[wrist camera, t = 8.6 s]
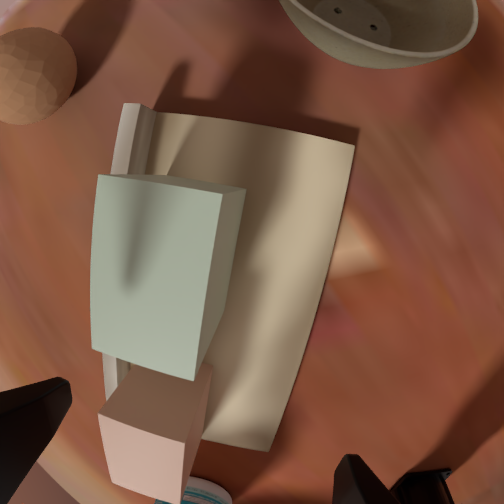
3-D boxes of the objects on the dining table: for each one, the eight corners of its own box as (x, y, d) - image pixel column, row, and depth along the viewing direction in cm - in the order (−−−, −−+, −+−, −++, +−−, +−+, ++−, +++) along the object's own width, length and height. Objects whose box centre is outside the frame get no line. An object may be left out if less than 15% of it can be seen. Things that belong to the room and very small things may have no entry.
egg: (36, 142, 18) (-49, 139, 10) (31, 72, 17) (-42, 52, 9) (102, 106, 17) (14, 80, 9) (93, 33, 16) (23, -11, 8)
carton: (213, 365, 19) (184, 443, 12) (202, 434, 20) (179, 505, 14) (145, 346, 19) (95, 412, 12) (144, 418, 21) (110, 481, 14)
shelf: (350, 148, 16) (366, 140, 13) (269, 441, 21) (267, 472, 18) (146, 114, 17) (120, 103, 14) (124, 404, 22) (107, 429, 19)
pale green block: (246, 188, 16) (222, 194, 9) (224, 310, 18) (193, 381, 11) (163, 174, 16) (93, 174, 10) (148, 292, 18) (87, 346, 11)
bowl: (445, 89, 15) (510, 58, 8) (300, 114, 16) (312, 72, 9) (386, -30, 13) (416, -87, 6) (250, -14, 14) (235, -84, 7)
